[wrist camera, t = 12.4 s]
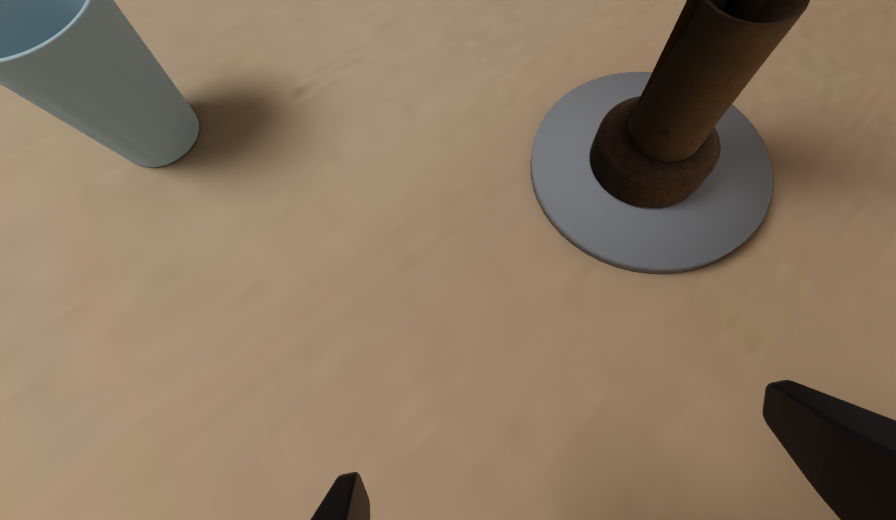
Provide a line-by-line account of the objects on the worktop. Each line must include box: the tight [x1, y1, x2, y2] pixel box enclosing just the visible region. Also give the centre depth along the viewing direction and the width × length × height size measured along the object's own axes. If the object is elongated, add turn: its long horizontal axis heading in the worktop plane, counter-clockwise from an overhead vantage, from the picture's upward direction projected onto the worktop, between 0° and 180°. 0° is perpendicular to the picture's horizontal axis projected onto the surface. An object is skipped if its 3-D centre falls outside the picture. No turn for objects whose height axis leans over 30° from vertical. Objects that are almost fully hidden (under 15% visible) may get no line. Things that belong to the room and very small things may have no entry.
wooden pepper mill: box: [589, 0, 810, 208], centre depth 17 cm, size 7×6×18 cm
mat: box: [531, 72, 773, 274], centre depth 26 cm, size 14×14×1 cm
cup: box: [0, 0, 199, 167], centre depth 26 cm, size 8×8×10 cm
